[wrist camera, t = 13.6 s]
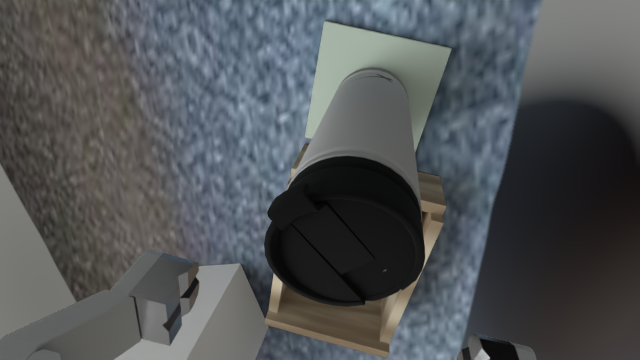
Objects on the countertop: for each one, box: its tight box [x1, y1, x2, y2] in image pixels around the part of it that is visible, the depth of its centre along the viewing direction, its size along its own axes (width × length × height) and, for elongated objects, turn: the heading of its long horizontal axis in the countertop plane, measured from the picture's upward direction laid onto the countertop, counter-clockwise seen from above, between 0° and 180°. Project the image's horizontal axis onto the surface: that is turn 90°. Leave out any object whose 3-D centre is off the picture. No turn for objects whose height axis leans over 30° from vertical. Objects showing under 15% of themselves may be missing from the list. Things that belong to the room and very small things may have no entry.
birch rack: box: [264, 144, 447, 358], centre depth 35 cm, size 18×13×7 cm
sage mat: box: [305, 21, 452, 151], centre depth 30 cm, size 10×10×1 cm
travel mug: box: [264, 67, 425, 307], centre depth 22 cm, size 6×7×20 cm
